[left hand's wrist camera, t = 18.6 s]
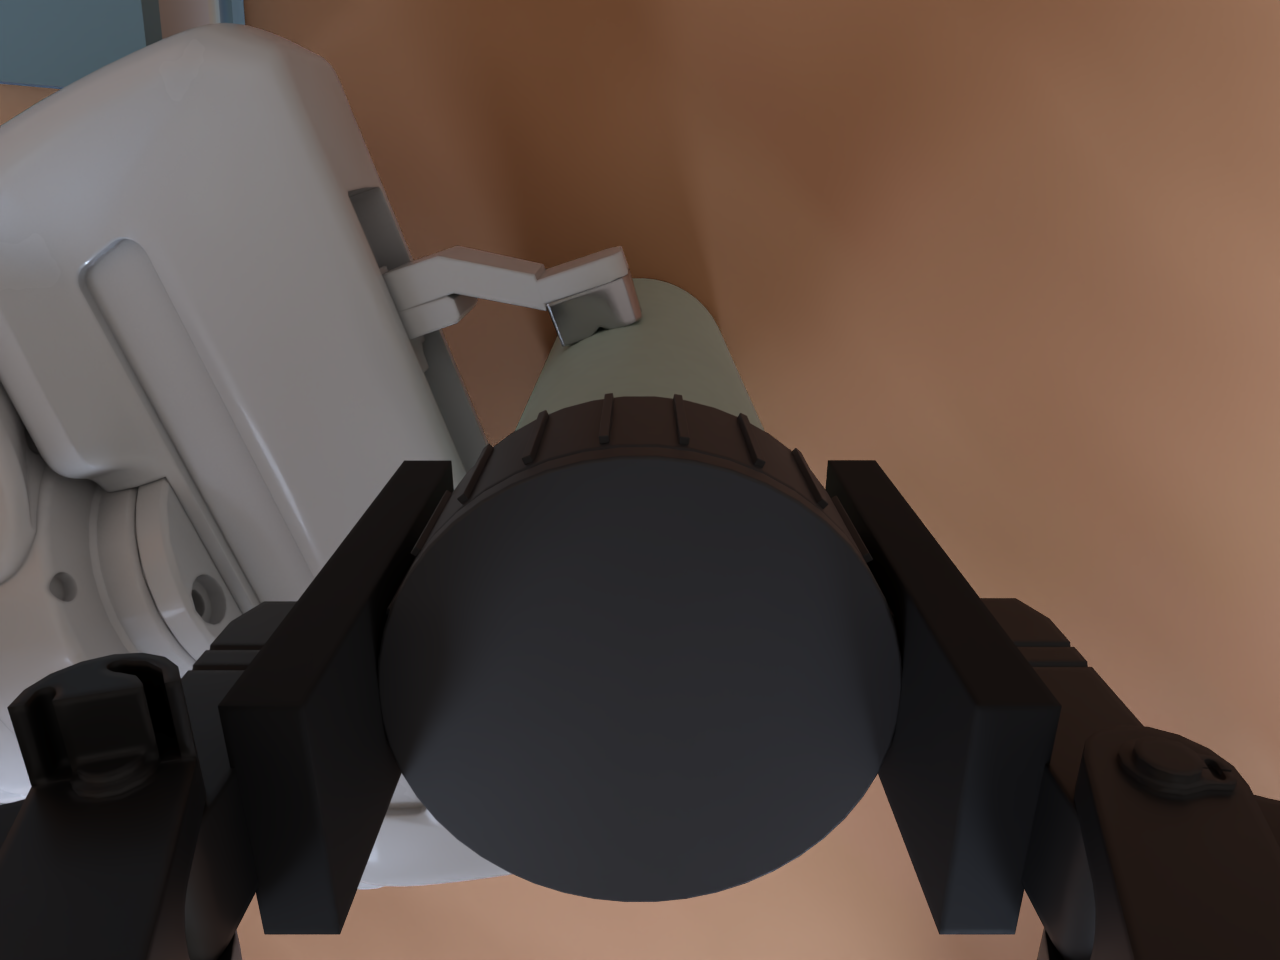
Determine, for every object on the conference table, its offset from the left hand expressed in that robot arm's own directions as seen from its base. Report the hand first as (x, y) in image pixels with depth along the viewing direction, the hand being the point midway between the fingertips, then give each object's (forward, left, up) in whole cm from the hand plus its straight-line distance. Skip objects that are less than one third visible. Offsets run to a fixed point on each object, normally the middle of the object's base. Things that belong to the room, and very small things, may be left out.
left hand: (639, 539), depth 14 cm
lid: (0, 0, +4) cm, 4 cm away
